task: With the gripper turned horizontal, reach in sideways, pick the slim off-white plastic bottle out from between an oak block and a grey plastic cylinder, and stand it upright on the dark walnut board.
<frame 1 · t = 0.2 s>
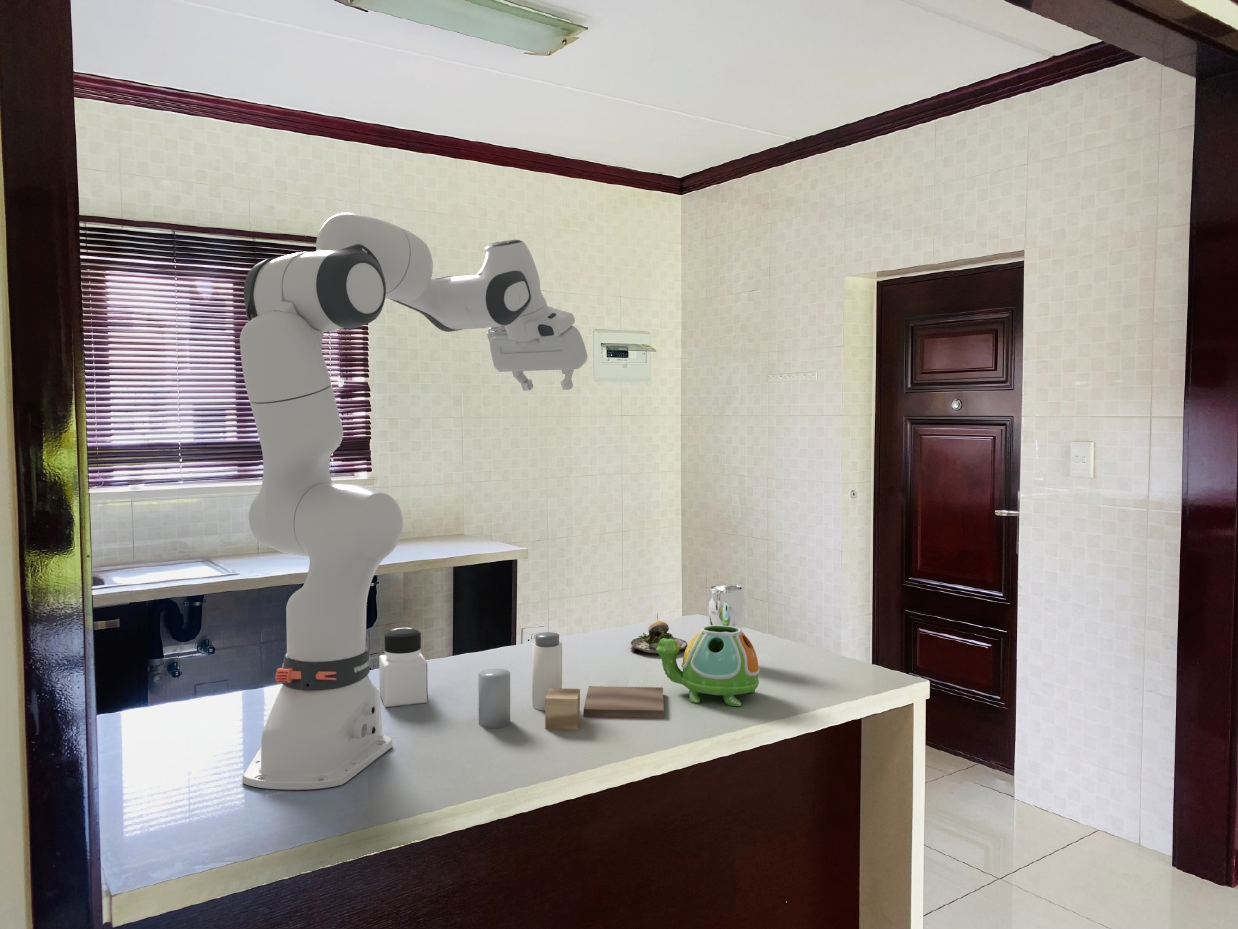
hand: (548, 388, 178), 54 cm above the table, tool tilted 25°, fingers open, 8 cm apart
walnut board: (624, 704, 153), on the table
burger: (659, 652, 188), on the table
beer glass: (725, 664, 178), on the table
grey cylinder: (494, 722, 144), on the table
plastic bottle: (547, 705, 152), on the table
medicine bottle: (403, 700, 155), on the table
turtle holder: (711, 696, 158), on the table
oak block: (562, 724, 144), on the table
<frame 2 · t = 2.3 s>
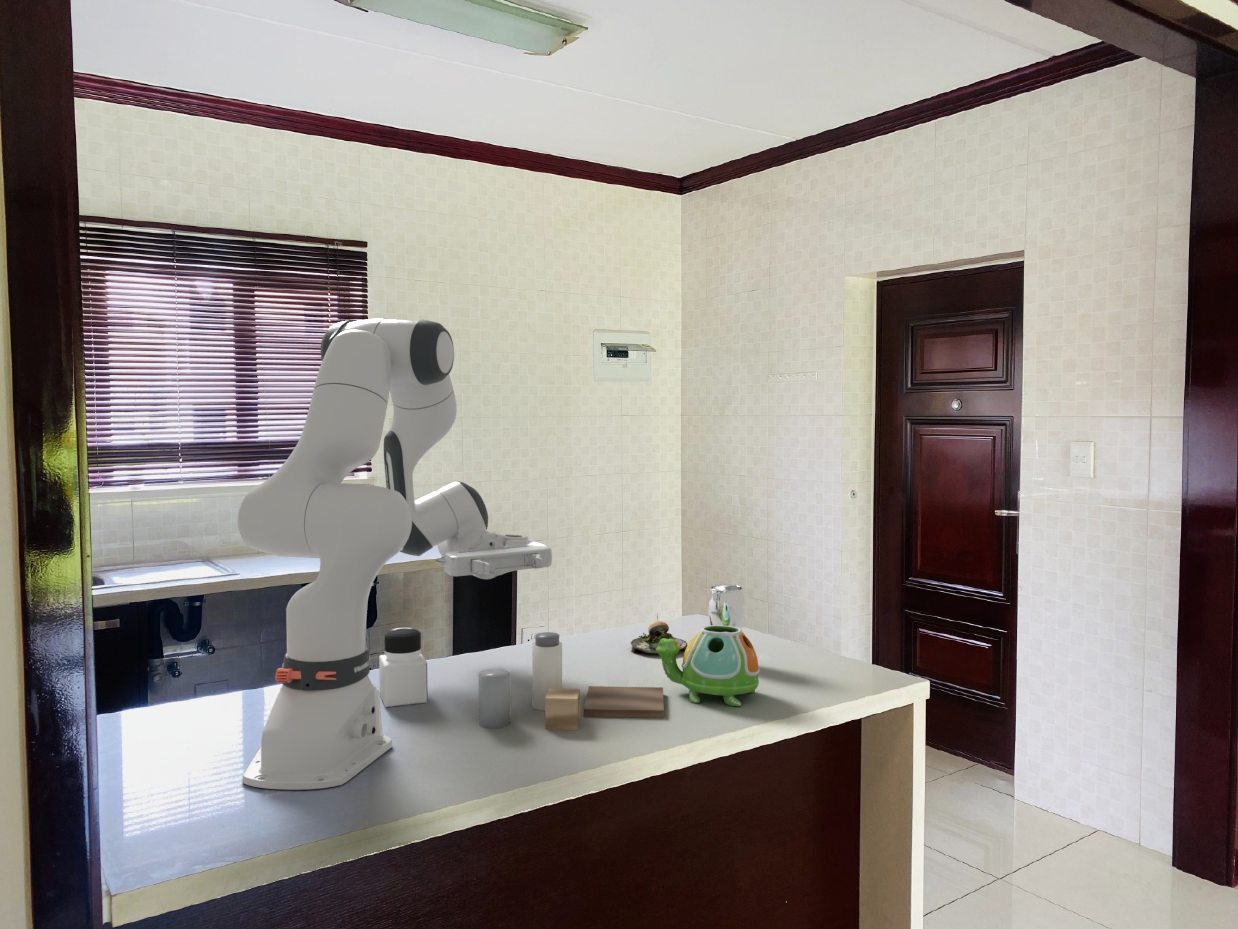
hand: (515, 566, 161), 22 cm above the table, tool horizontal, fingers open, 8 cm apart
nothing on the table moved.
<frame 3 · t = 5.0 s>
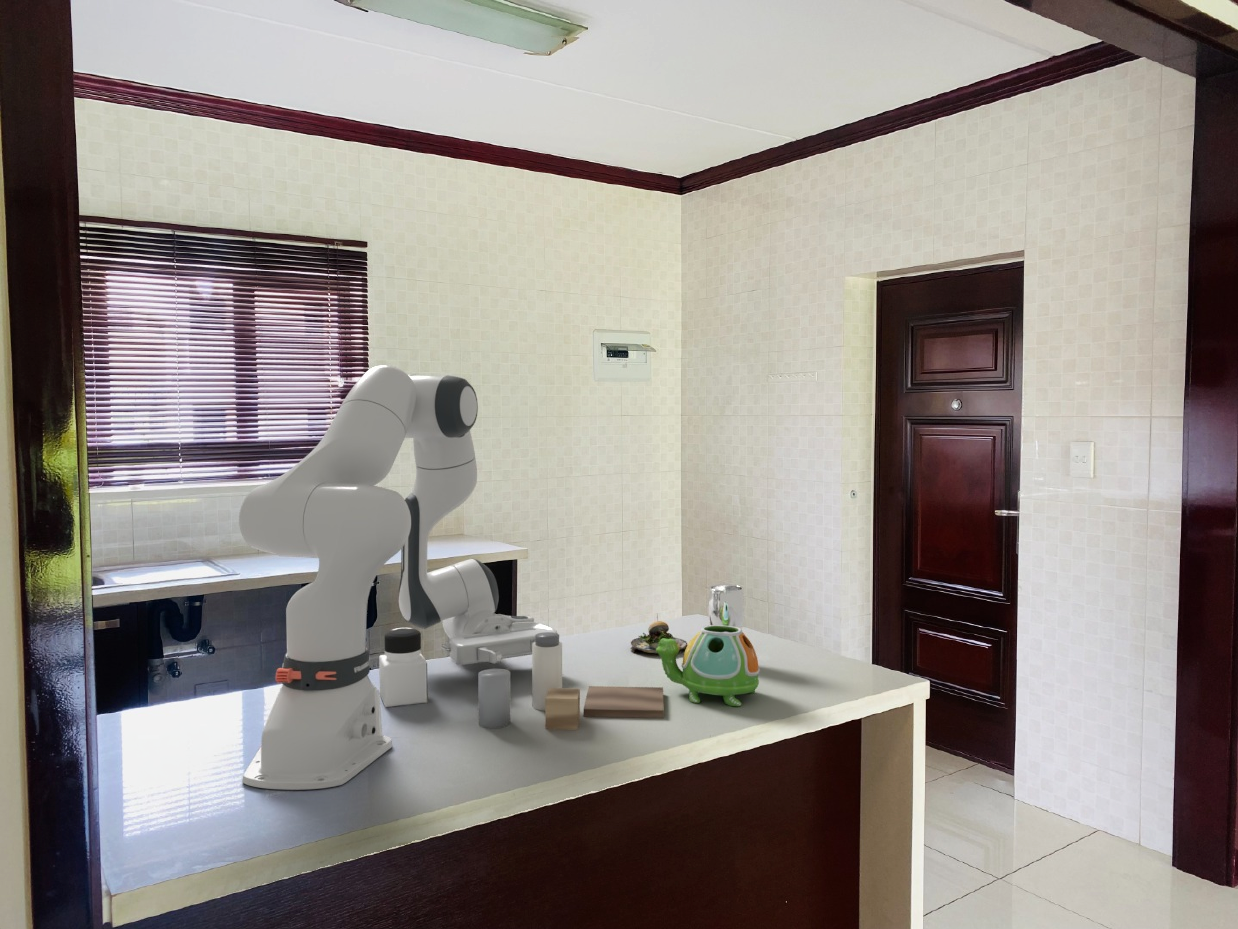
hand: (522, 654, 160), 6 cm above the table, tool horizontal, fingers open, 8 cm apart
nothing on the table moved.
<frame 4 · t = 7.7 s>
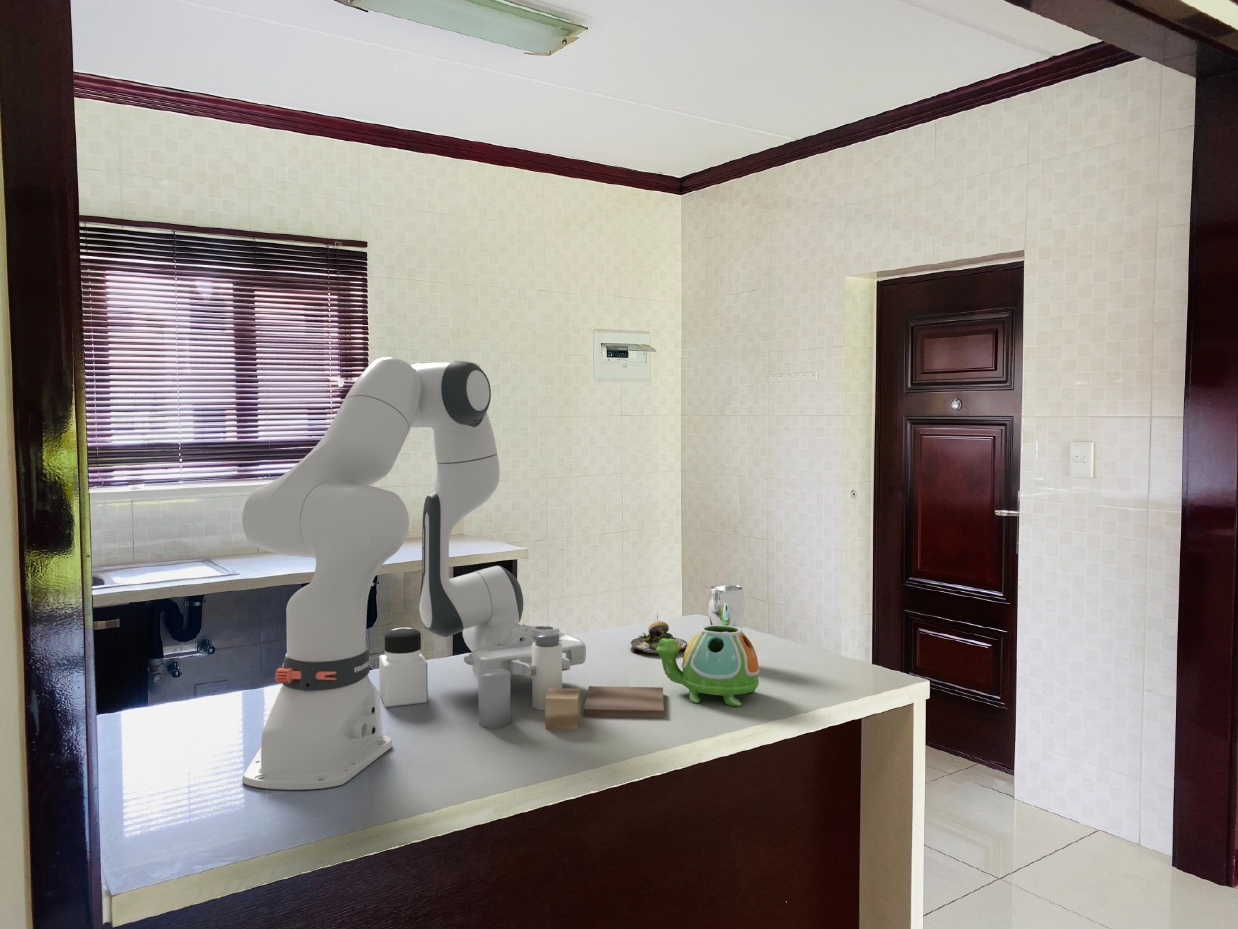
hand: (549, 668, 151), 7 cm above the table, tool horizontal, fingers closed on plastic bottle, 5 cm apart
plastic bottle: (547, 705, 152), on the table, touching gripper
everything else where it was.
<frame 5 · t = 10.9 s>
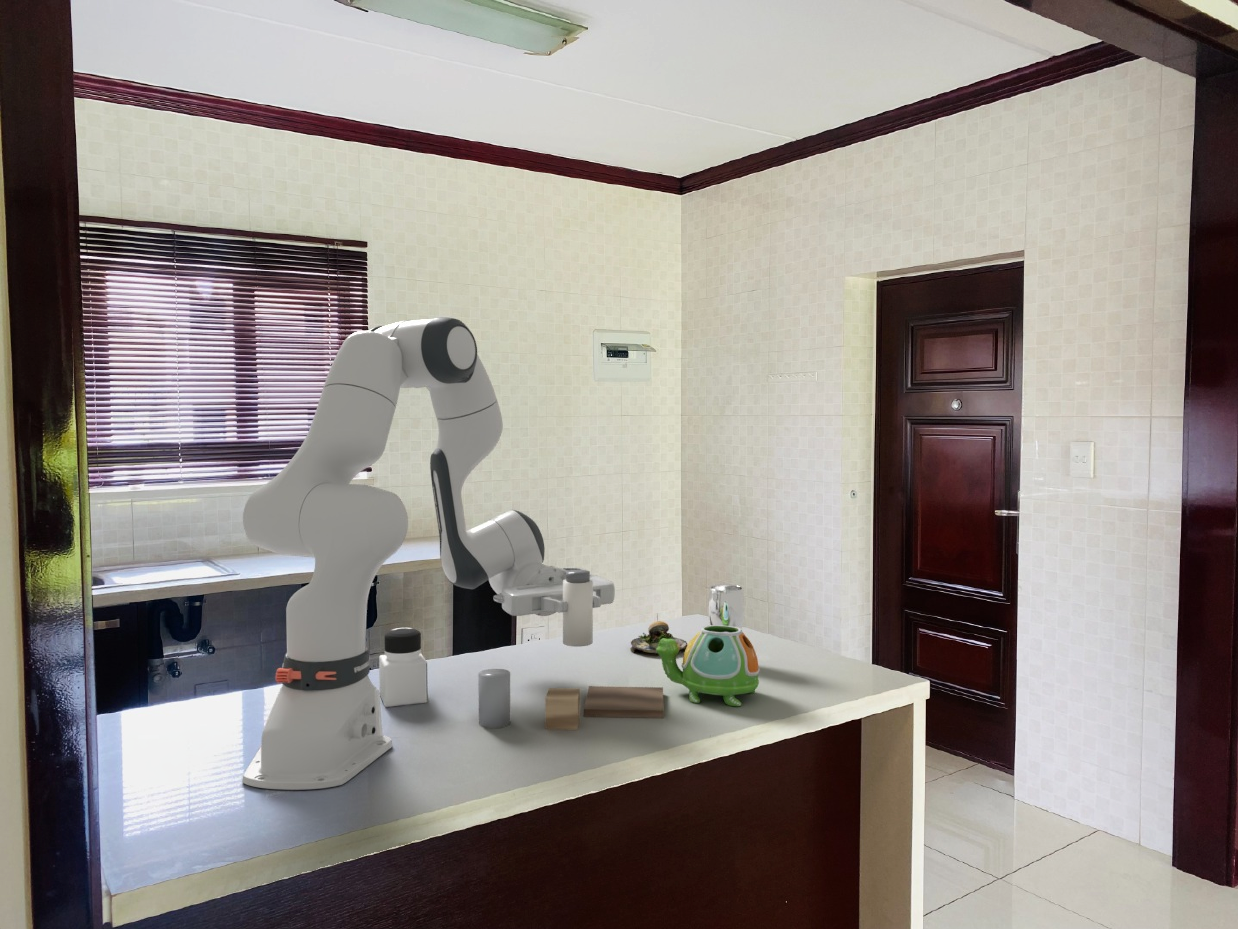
hand: (580, 605, 151), 17 cm above the table, tool horizontal, fingers closed on plastic bottle, 5 cm apart
plastic bottle: (577, 642, 152), point 11 cm above the table, touching gripper
everything else where it was.
when the fingers open (9 cm above the table, at t = 14.0 s): plastic bottle drops 1 cm, resting on walnut board.
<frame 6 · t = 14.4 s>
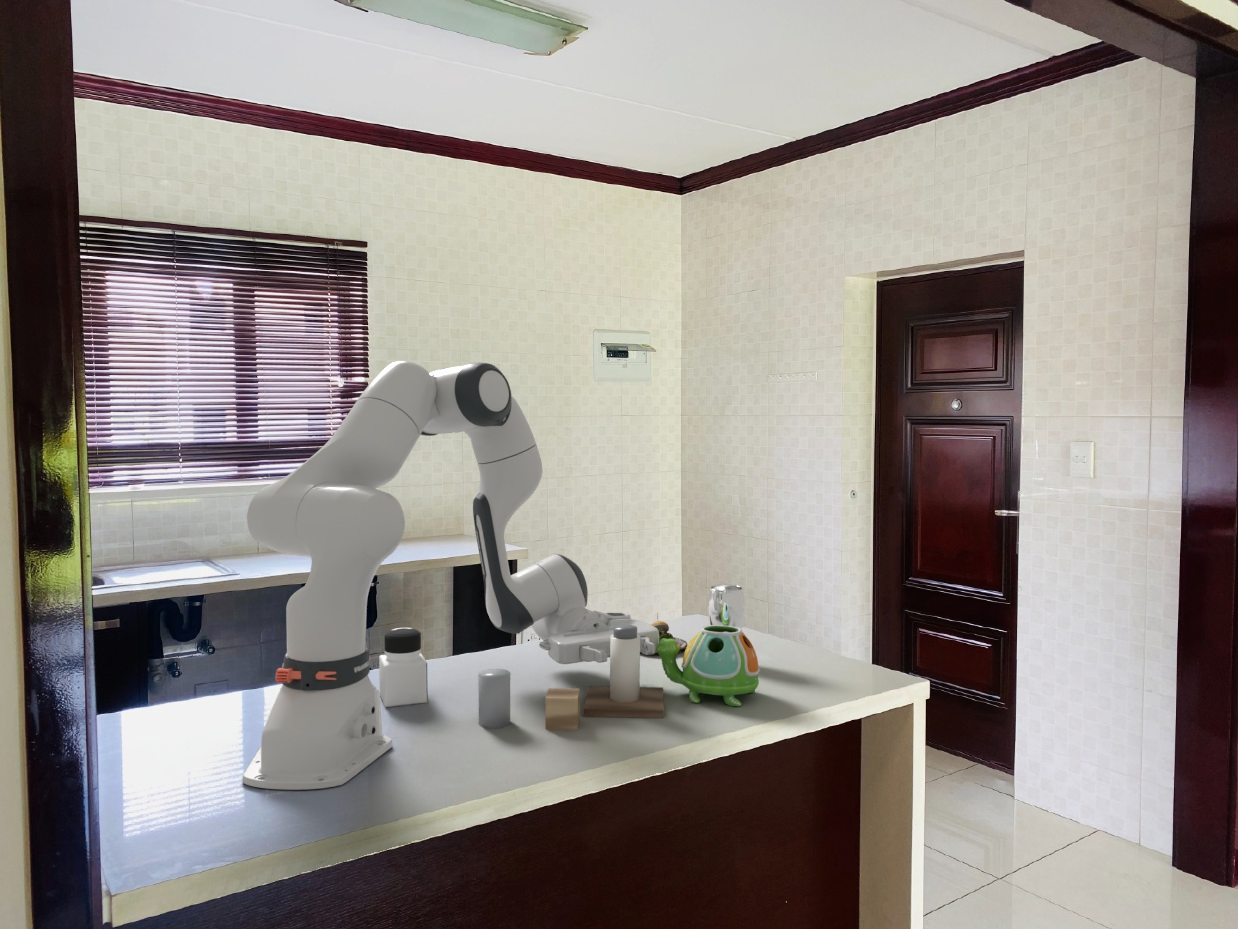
hand: (627, 653, 152), 9 cm above the table, tool horizontal, fingers open, 8 cm apart
plastic bottle: (624, 697, 153), point 1 cm above the table, touching walnut board
everything else where it was.
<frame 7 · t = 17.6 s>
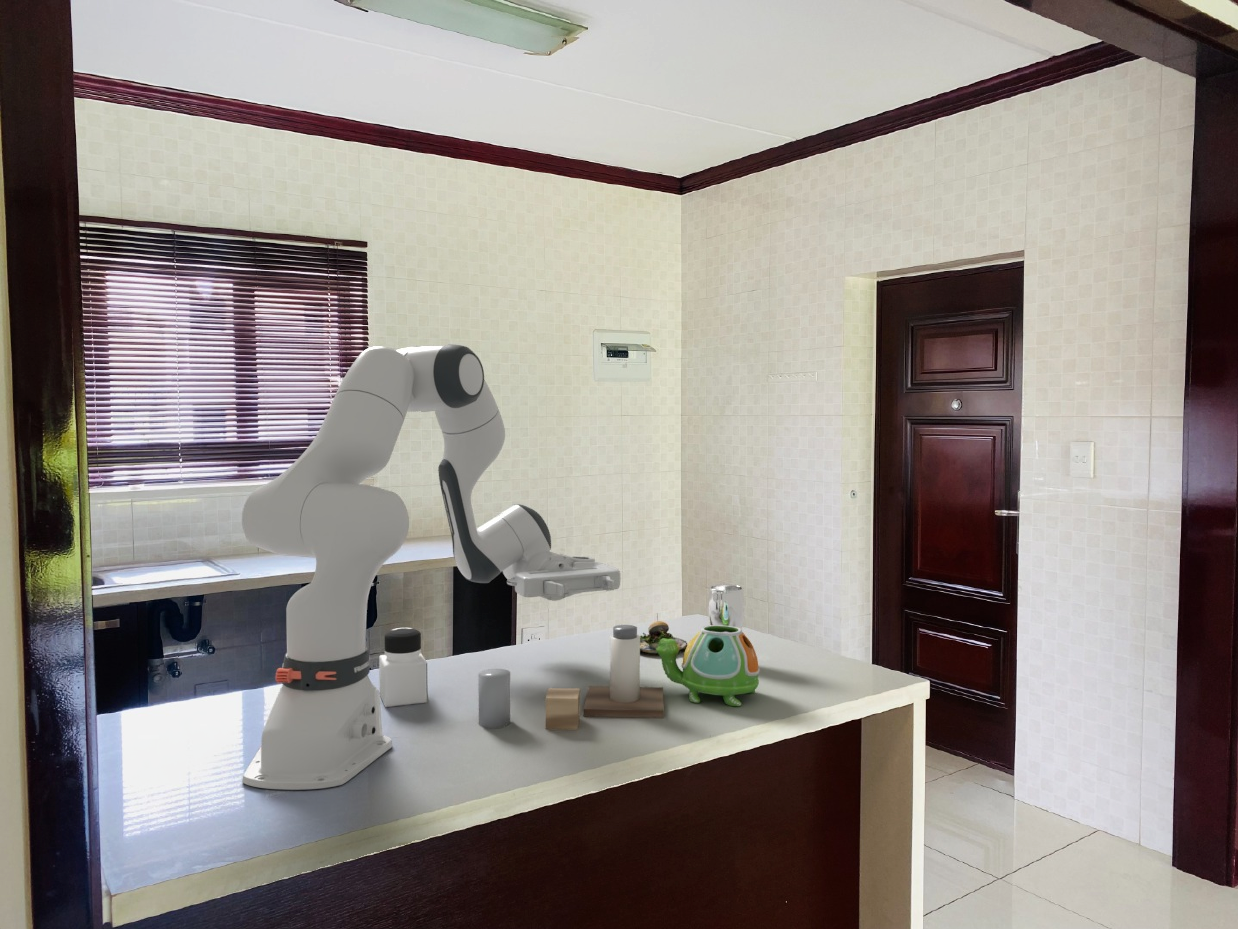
hand: (588, 588, 162), 18 cm above the table, tool horizontal, fingers open, 8 cm apart
nothing on the table moved.
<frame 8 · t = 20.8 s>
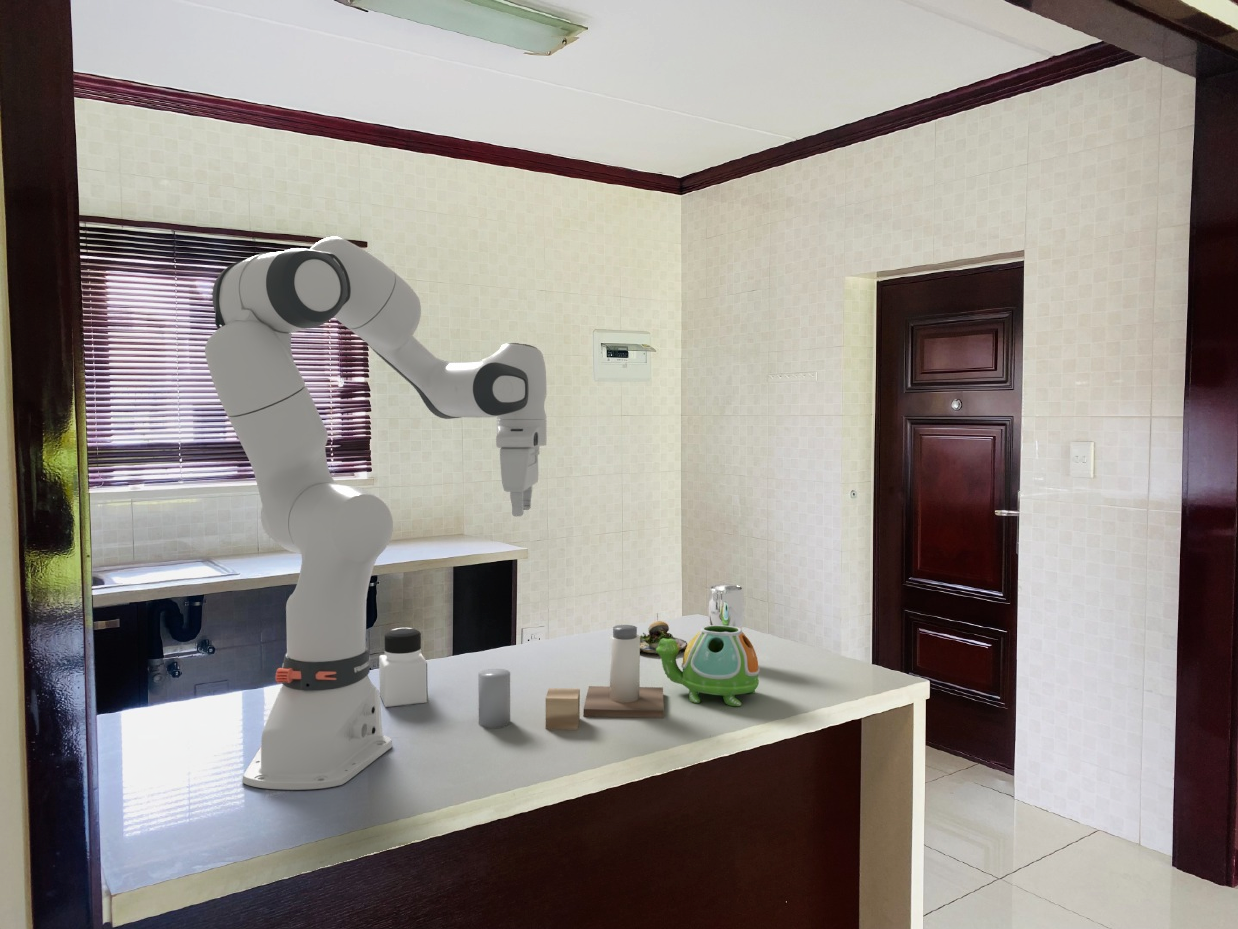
hand: (521, 512, 163), 31 cm above the table, tool pointing down, fingers open, 8 cm apart
nothing on the table moved.
at the end: plastic bottle inside the target area on the walnut board (0.0 cm from its centre), point 1.2 cm above the walnut board's base; plastic bottle tilted 0°; the gripper is holding nothing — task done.
